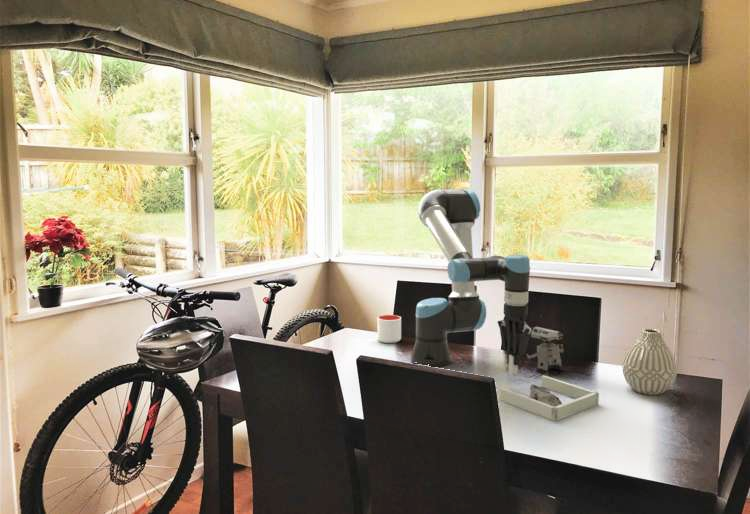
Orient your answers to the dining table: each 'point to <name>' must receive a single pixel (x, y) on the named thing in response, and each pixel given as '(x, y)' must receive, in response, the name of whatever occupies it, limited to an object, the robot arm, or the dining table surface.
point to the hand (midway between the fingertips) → (512, 373)
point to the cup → (389, 328)
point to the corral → (581, 402)
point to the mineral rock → (544, 396)
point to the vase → (649, 364)
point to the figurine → (547, 349)
